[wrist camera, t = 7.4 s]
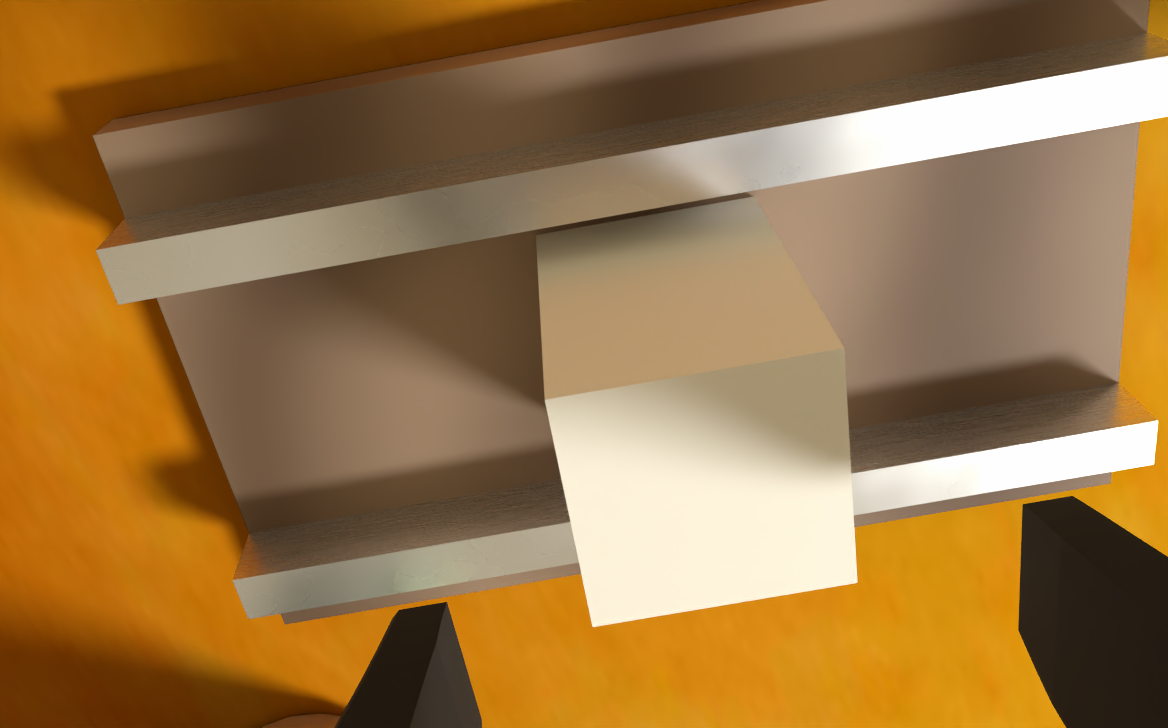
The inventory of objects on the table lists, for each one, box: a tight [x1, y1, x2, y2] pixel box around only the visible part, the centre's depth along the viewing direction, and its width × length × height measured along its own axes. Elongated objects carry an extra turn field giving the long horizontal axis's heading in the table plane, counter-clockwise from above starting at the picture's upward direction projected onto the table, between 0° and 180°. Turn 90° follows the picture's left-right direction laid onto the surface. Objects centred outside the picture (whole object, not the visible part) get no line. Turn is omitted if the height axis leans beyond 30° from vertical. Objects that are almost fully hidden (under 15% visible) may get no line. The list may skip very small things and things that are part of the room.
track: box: [93, 0, 1168, 624], centre depth 20 cm, size 18×11×2 cm, turn 99°
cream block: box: [536, 197, 857, 627], centre depth 18 cm, size 4×4×6 cm
